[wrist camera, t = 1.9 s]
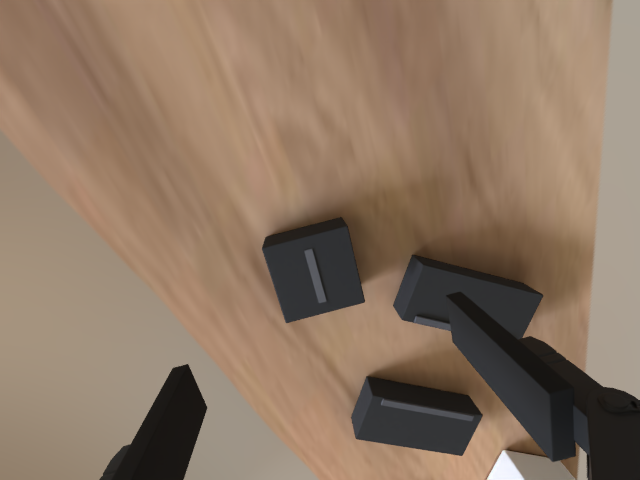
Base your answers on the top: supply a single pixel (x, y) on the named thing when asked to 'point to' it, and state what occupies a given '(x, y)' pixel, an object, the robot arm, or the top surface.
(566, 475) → the milk carton
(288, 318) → the loose pad
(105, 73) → the top surface
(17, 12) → the top surface
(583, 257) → the top surface
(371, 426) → the pad row
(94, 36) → the top surface
